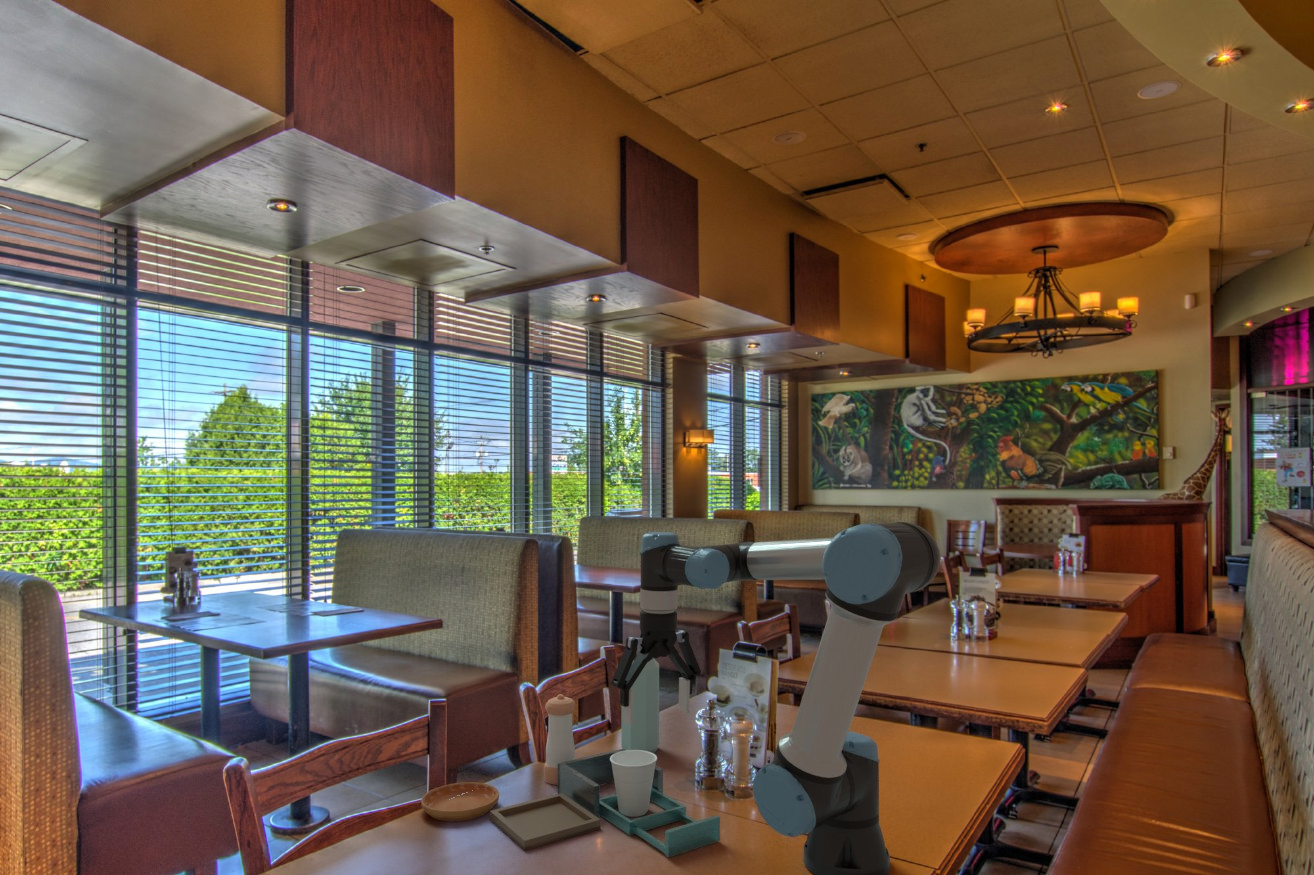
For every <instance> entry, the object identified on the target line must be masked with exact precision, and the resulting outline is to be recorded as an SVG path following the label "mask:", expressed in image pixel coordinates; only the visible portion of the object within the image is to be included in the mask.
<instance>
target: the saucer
mask: <svg viewBox="0 0 1314 875" xmlns="http://www.w3.org/2000/svg"><path fill="white" fill-rule="evenodd" d="M472 790H473V791H472ZM466 792H468V793H466ZM462 793H465V794H463V795H461V794H462ZM457 795H460V796H457ZM453 797H455V798H453ZM451 798H453V799H451ZM499 798H500V791H499V790H498V788H497V787H495V786H494V785H490V784H488V783H483V782H472V781H471V782H469V781H468V782H455V783H450V784H446V785H441V786H438V787H436V788H433V789H430V790H429V791H427V792H426V793H425V794H424V795H423V796H422V798H421V801H420V804H421V808H422V811H423V810H424V812H425V813H426V814H428V816H430V817H431V818H433V819H434V820H439V821H442V822H464V821H469V820H474V819H478V818H479V817H482V816H484V815H486V814H487V813H488V812H490V811H491V809H492V808H493V807H494V806H496V804H498V802H499ZM449 799H450V800H449Z"/></svg>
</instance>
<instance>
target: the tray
mask: <svg viewBox="0 0 1314 875" xmlns="http://www.w3.org/2000/svg"><path fill="white" fill-rule="evenodd" d="M489 821H490V822H491V823H492V824H494V825H495V826H496V827H497V828H498V829H500V831H502V833H504V834H505V835H506V836H507V837H508V838H509V839H510V840H512V841H513V842H514V843H515V844H516V845H517V846H519V847H520V848H521V849H522V850H523V851H528V850H532V849H534V848H535V849H536V848H538V847H542V846H546V845H548V844H553V843H556V842H559V841H563V840H566V839H567V840H568V839H570V838H573V837H577V836H580V835H584V834H588V833H590V832H591V833H592V832H594V831H598V830H601V826H602V825H601V823H602V822H601V819H600V817H599V818H597V817H596V816H595V815H593V814H592V813H590V812H589V811H587V810H586V809H584V808H583V807H581V806H580V805H579V804H577V803H576V802H574V801H573V800H571V799H570V798H568V797H567V796H565V795H564V794H563V793H560V794H558V793H557V794H551V795H548V796H544V797H540V798H536V799H532V800H529V801H524V802H520V803H515V804H511V805H508V806H504V807H499V808H496V809H492V810H491V809H490V810H489Z"/></svg>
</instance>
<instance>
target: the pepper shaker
mask: <svg viewBox="0 0 1314 875" xmlns="http://www.w3.org/2000/svg"><path fill="white" fill-rule="evenodd" d="M576 707H577V706H576V702H575V701H574V699H572V698H571V697H567V696H564V694H561V693H560V694H558V695H557V696H555V697H552V698H550V699H548V700H547V702H545V706H544V708H545V711H546V713H547V714H548V730H547V731H548V732H547V740H546V746H545V763H544V764H543V767H544V768H543V773H544V775H543V776H544V778H543V780H544V782H545V783H547V784H549V785H554V786H555V785H556V786H557V778H558V763H561V762H566V761H570V760H575V754H576V751H575V750H576V747H575V739H574V733H573V714H574V712H575V710H576Z"/></svg>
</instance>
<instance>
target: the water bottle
mask: <svg viewBox="0 0 1314 875" xmlns="http://www.w3.org/2000/svg"><path fill="white" fill-rule="evenodd" d="M640 648H641V647H639V648H638V649H637V652H636V655H635V658H636V657H637V653H638V651H639V650H640ZM644 655H646V653H645V654H644ZM635 658H634V660H635ZM634 660H633V661H634ZM632 663H633V662H632ZM630 689H632V690H634V720H633V724H631V725H630V724H628V723H626V722H624V721H623V706H622V705H621V704H620V707H621V720H620V721H621V722H620V723H621V734H620V735H621V736H620V737H621V740H620V741H621V744H620V746H621V749H625V750H643V751H648V752H651V753H653V754H655V753H656V752H657V750H658V749H659V747H660V746H659V745H660V663H659V662H658V661H657V659H656V658H652V659H651V660H650V661H649V662H647V664H646V665H645V667H644V668H643V670H642V671H641V673H640V675H639V676H638V678H637V679H636V681H635V682H634V684H633V685H632V687H631V688H630Z"/></svg>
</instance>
